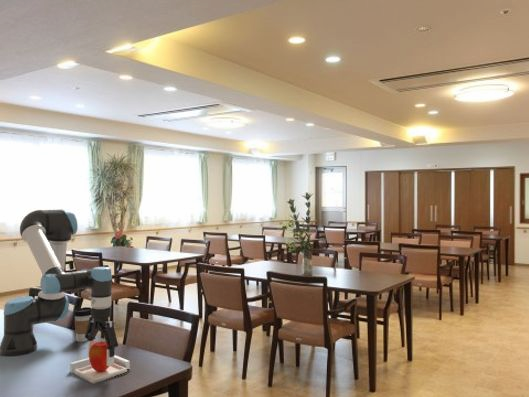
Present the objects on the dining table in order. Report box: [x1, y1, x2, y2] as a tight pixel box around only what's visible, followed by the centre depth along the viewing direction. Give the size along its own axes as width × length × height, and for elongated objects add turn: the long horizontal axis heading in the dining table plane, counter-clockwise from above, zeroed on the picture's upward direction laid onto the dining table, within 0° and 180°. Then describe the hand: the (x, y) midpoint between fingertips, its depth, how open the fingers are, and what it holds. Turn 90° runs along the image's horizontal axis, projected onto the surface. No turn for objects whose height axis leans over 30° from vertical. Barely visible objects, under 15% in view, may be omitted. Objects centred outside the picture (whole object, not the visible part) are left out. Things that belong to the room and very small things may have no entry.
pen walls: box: [69, 354, 131, 374], centre depth 183 cm, size 16×17×4 cm
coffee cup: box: [73, 306, 92, 343], centre depth 223 cm, size 8×8×15 cm
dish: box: [73, 363, 128, 384], centre depth 180 cm, size 14×14×2 cm
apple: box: [89, 341, 109, 372], centre depth 181 cm, size 9×9×12 cm
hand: (100, 360), depth 180 cm, fingers open, 13 cm apart
